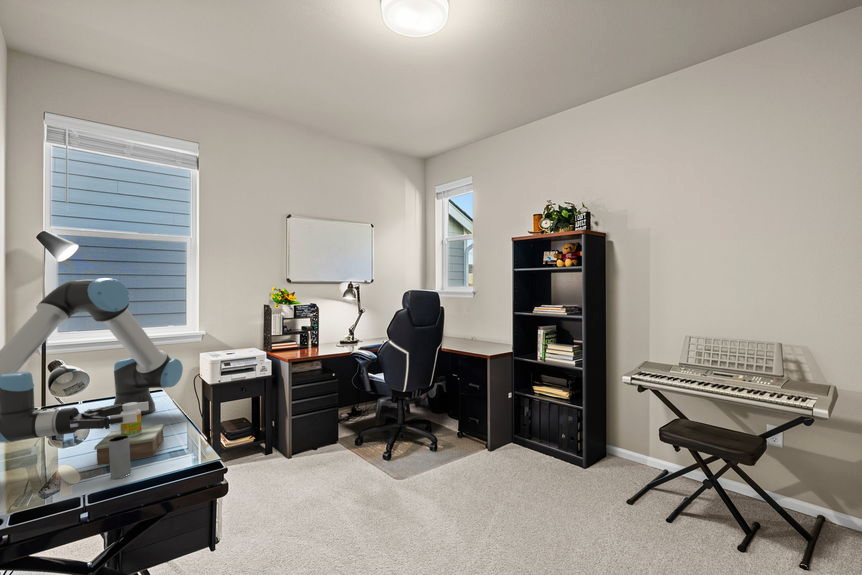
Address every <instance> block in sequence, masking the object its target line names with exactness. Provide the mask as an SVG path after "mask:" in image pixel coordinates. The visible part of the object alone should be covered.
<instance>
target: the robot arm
mask: <svg viewBox="0 0 862 575" xmlns="http://www.w3.org/2000/svg"><path fill="white" fill-rule="evenodd" d="M129 295H130V292H129V290H128V288H127V286H126V285H125V283H123V282H122V281H120V280H118V279H117V278H108V277H100V278H96V279H95V278H90V279H73V280H69V281H66V282H65V283H62V284H60V285H59V286H57V287H56V288H55V289H53V290H52V291H51V292H49V293H48V294H47V295H45V297H43V299H42V300H41V301H40V302H39V303H38V304H37V305H36V306H35V307H36V311H35V312H34V313H33V314H32V315H31V317H29V319H28V320H27V321H25V323H24V324H23V325H22V326H21V327H20V328H19V329H18V331H16V333H14V335H13V336H12V337H11V338H10V339H9V340H8V341H7V342H6V343H5V344H4V345H3V347H2V348H0V443H8V442H10V443H13V442H17V441H18V442H19V441H23V440H24V441H25V440H30V439H38V438H44V437H45V438H46V439H50V438H51V437H52V436H58V435H60V436H61V435H68V434H69V435H70V434H75V433H77V431H78V430H97V429H98V430H100V429H101V430H102V429H105V430H109V429H110V427H111V426H117V425H120V424H126V423H133V422H137V412H136V413H128V414H120V413H121V412H123V409H122V405H123V404H126V403H131V402H137V403H138V407H137V409H140V410H141V416H143V415H146V413H147V414H150V413H152V412H154V411H156V404H155V401H154V399H153V396H152V395H151V392H150V389H166V388H167V389H168V388H172V387H175V386H176V385H177V384H178V383H179V382H180V381H181V378H182V376H183V364H182V362H181V360H180V359H178V358H171V357H170V356H169V355H168V353H167V352H165V351H164V350H159V349H158V348H157V346H156V344H155V343H154V342H153V341H152V340H151V338H150V337H149V335H148V334H147V333H146V331H145V330H144V329H143V327H142V326H141V324H140V323H139V322H138V321H137V319H136V318H135V317H134V315H132V313H131V312H130V310H129V308H130V298H131V296H129ZM78 313H89V315H90V316H91V318H92V319H93V320H94V321H95V322H97V323H103V324H104V325H105V326H106V328H108V330H109V331H110V332H111V333H112V335H113V336H114V337H115V338H116V339H117V340H118V342H119V343H120V344H121V345H122V347H123V348H124V349H125V351H126V352H127V353H128V354H129V355H130V358H125V359H121V360H116V361H115V363H114V365H113V366H114V367H113V376H114V377H113V378H114V389H115V399H114V402H113V404H112V405H108V406H103V407H98V408H91V409H90V408H89V409H86V410H84V412H81V413H80V411H79V409H78V408H77V407H65V408H61V409H59V408H56V409H55V408H54V409H46V410H40V411H35V410H36V409H35V392H34V391H35V390H34V389H35V388H34V387H35V383H34V382H33V381H34V379H33V375H32V374H33V373H31V372H30V371H20V370H21V369H22V368H23V367H24V365H25V364H26V363H27V362H28V361H29V360H30V358H32V357H33V355H34V354H35V353H36V352H37V351H38V350H39V348H41V346H42V345H43V344H44V343H45V341H47V340H48V338H49V337H50V336H51V335H52V333H53V332H54V331H55V330H56V329H57V328H58V327H59V326H60V324H61V323H66V322H68V320H69V319H70V318H72V317H73V315H76V314H78ZM149 412H150V413H149ZM142 414H143V415H142Z"/></svg>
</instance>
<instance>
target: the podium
mask: <svg viewBox="0 0 862 575" xmlns="http://www.w3.org/2000/svg"><path fill="white" fill-rule="evenodd" d="M164 428H165V423H163V424H155V425H148V426H142V432H141V434H139V435H136V436H132V437H129V446H130V459H134V460H139V459H138V458H140V459H145V458H151V457H154V456H155V454H156V453H157V451H158V450H159V449H160V447H161V446H162V444H163V443H164ZM118 436H121V429H118V430H113V431H110V432H109V433H108V434H107V435H106V436H105V437H104V438H102V439H101V440H100V441H99V442H98V443H97V444H96V445H95V446H94V449H93V450H96V461H97V462H96V463H97V466H102V464H103V465H107V464H108V463H109V464H110V457H109V440H110V439H111V438H114V437H118Z"/></svg>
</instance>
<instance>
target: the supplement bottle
mask: <svg viewBox="0 0 862 575" xmlns="http://www.w3.org/2000/svg"><path fill="white" fill-rule="evenodd" d="M137 407H138V403H137V402H131V403H126V404H123V405H122V409H123V412H121V413H120V414H128V413H136V412H137V422H133V423H126V424H119V426H120V430H121V436H125V435H126V436H129V437H132V436H136V435H139V434H141V432H142V427H143V426H142V415H141V410H140V409H137Z"/></svg>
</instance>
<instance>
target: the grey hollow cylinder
mask: <svg viewBox="0 0 862 575" xmlns="http://www.w3.org/2000/svg"><path fill="white" fill-rule="evenodd" d="M109 457H110V463H109V471H110V479H112V480H118V478H120V479H123V478H122V477H124V476H126V475H128V474H130V473H132V468H131V466H132V465H131V460H130V446H129V436H126V435H125V436H118V437H114V438H111V439H110V440H109ZM128 476H129V475H128ZM126 477H127V476H126ZM124 478H125V477H124Z"/></svg>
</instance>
